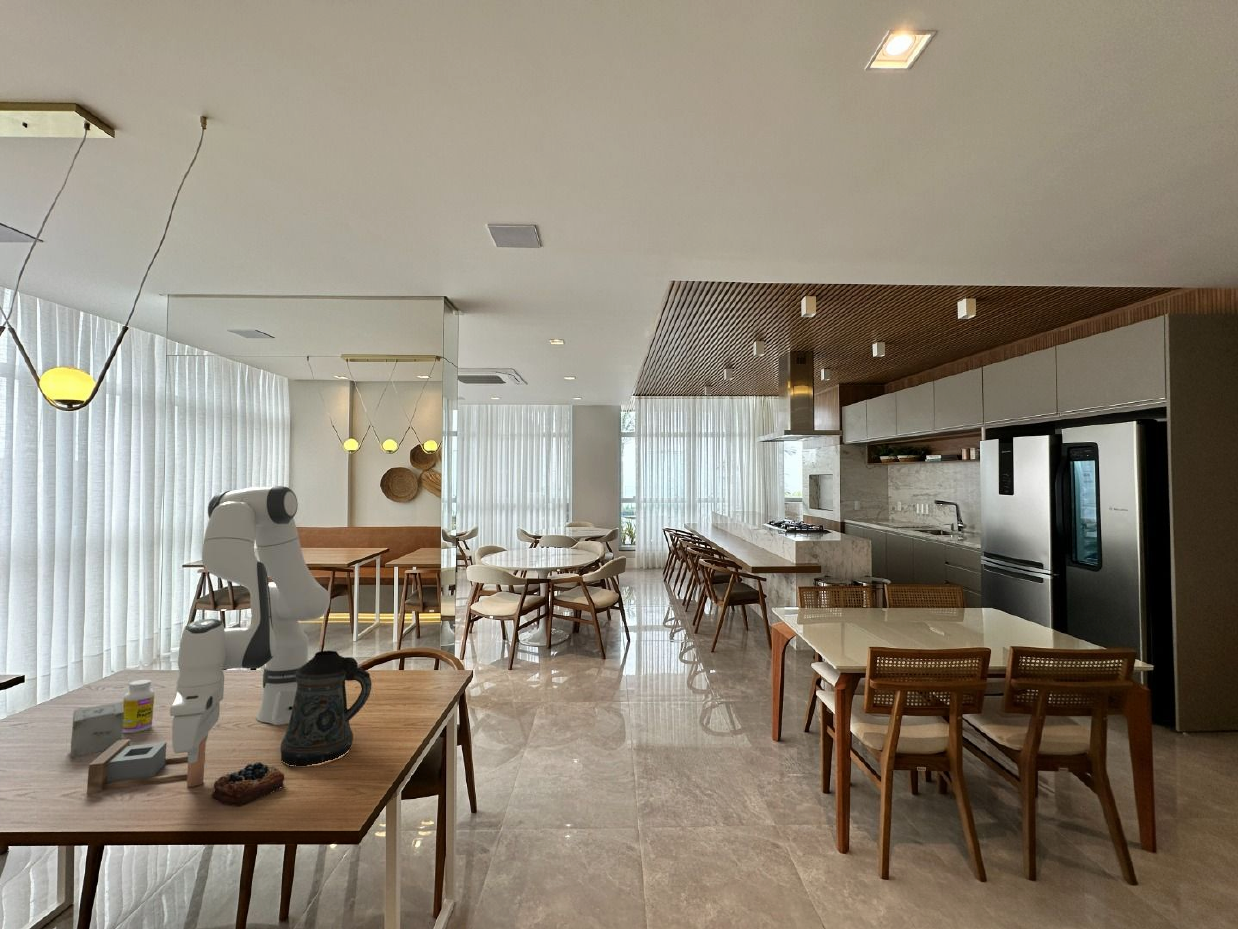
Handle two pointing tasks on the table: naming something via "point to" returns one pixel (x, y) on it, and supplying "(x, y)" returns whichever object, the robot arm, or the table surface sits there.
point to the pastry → (247, 784)
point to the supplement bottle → (138, 707)
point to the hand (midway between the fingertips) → (196, 757)
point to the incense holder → (96, 728)
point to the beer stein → (323, 710)
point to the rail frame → (99, 780)
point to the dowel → (197, 767)
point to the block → (137, 762)
